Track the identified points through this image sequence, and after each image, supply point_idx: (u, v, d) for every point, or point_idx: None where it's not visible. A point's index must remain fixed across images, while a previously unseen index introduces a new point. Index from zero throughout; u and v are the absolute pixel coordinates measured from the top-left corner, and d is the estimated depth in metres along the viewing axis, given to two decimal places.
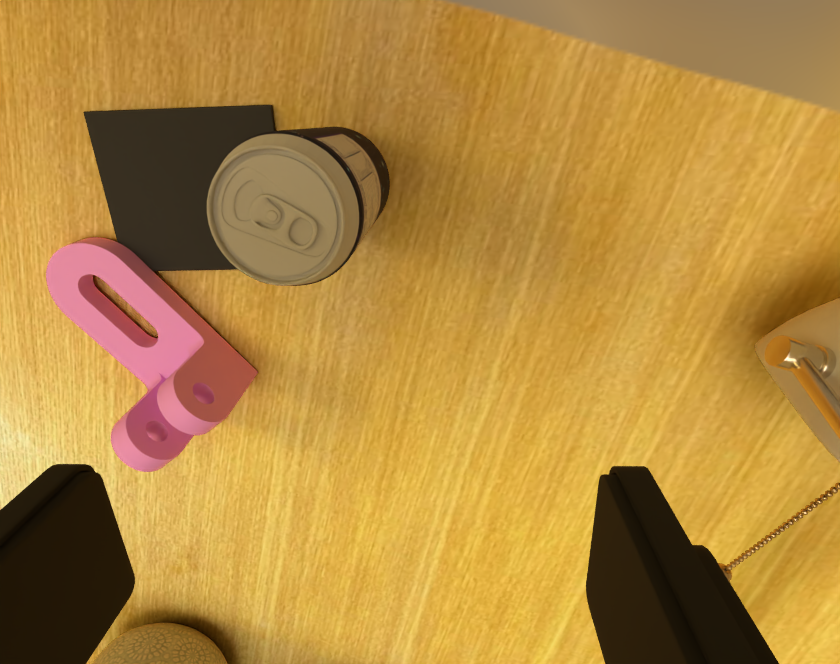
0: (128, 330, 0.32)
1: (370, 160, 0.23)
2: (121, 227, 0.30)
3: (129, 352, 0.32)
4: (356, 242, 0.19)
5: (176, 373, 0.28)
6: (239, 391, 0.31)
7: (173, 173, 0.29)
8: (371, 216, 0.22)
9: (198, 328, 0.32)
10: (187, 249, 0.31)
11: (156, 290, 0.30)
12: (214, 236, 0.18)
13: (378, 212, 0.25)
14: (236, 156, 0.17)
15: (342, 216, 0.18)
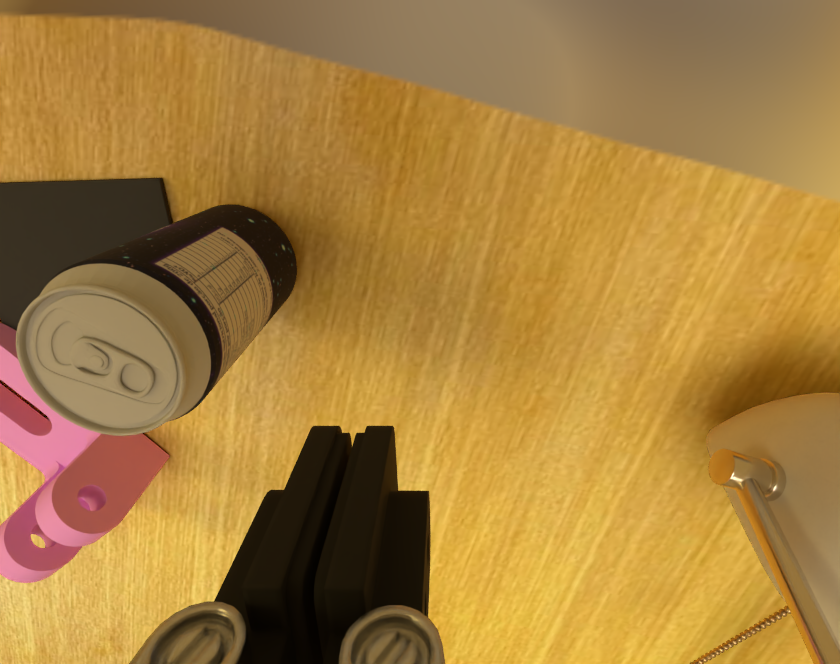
0: (20, 417, 0.29)
1: (255, 256, 0.20)
2: (4, 307, 0.27)
3: (21, 440, 0.29)
4: (211, 379, 0.16)
5: (58, 479, 0.25)
6: (141, 485, 0.28)
7: (57, 250, 0.26)
8: (247, 330, 0.19)
9: None
10: None
11: None
12: (31, 383, 0.15)
13: (272, 309, 0.22)
14: (43, 298, 0.14)
15: (179, 363, 0.15)
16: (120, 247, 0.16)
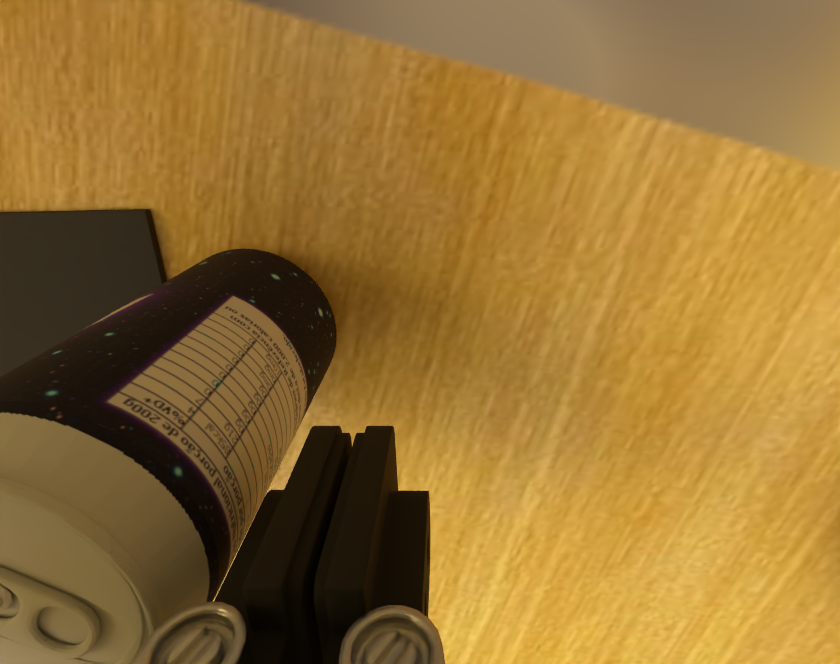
0: None
1: (284, 340, 0.13)
2: None
3: None
4: (210, 599, 0.09)
5: None
6: None
7: (5, 306, 0.19)
8: (271, 472, 0.12)
9: None
10: None
11: None
12: None
13: (305, 411, 0.15)
14: None
15: (147, 611, 0.08)
16: (52, 359, 0.09)
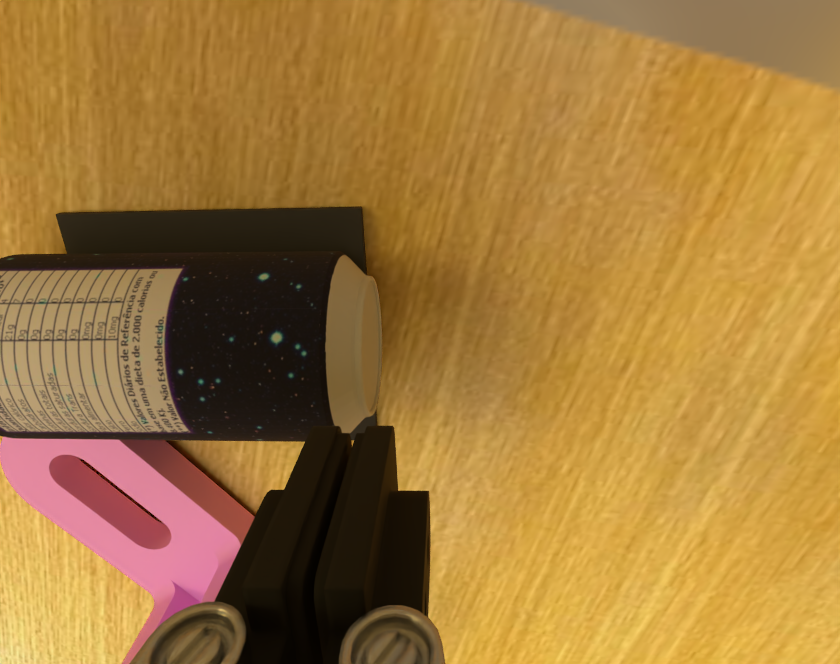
0: (127, 522, 0.21)
1: (157, 321, 0.13)
2: None
3: (127, 554, 0.21)
4: None
5: None
6: None
7: None
8: (63, 401, 0.13)
9: (232, 524, 0.21)
10: None
11: (169, 476, 0.20)
12: None
13: (186, 413, 0.13)
14: None
15: None
16: None
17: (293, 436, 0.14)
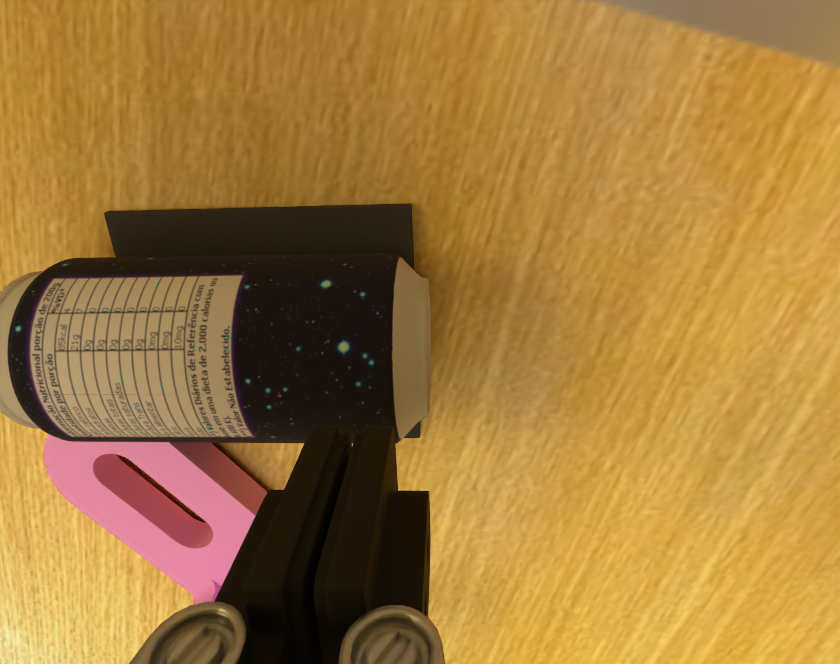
0: (168, 521, 0.21)
1: (222, 331, 0.13)
2: None
3: (168, 553, 0.21)
4: (34, 421, 0.14)
5: None
6: None
7: None
8: (130, 410, 0.14)
9: None
10: None
11: (212, 474, 0.20)
12: None
13: (252, 420, 0.14)
14: None
15: None
16: (120, 257, 0.15)
17: None
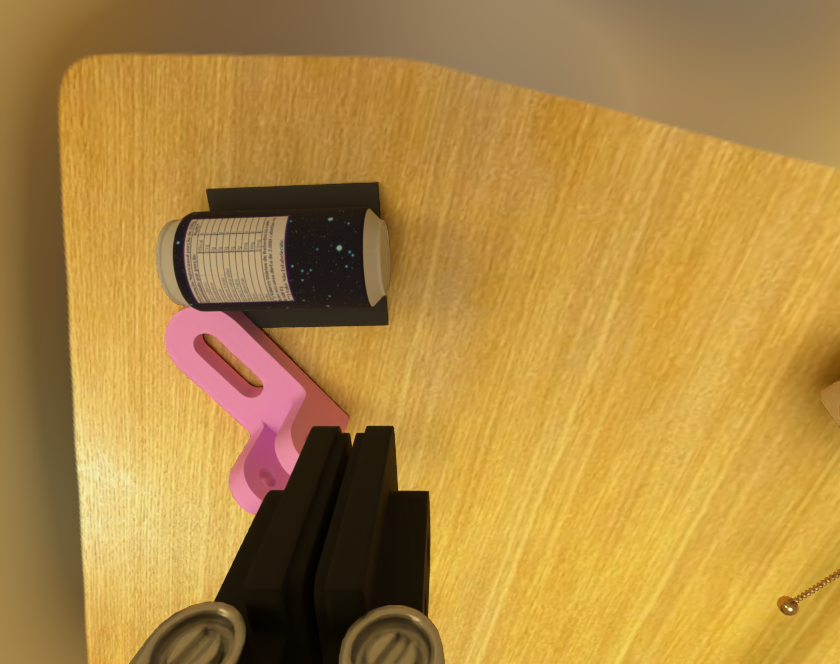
0: (235, 382, 0.35)
1: (279, 241, 0.26)
2: None
3: (235, 402, 0.35)
4: (182, 292, 0.27)
5: (291, 426, 0.31)
6: None
7: None
8: (232, 283, 0.27)
9: (299, 380, 0.34)
10: None
11: (264, 347, 0.33)
12: None
13: (293, 288, 0.27)
14: None
15: (158, 270, 0.27)
16: (221, 211, 0.29)
17: (346, 302, 0.28)
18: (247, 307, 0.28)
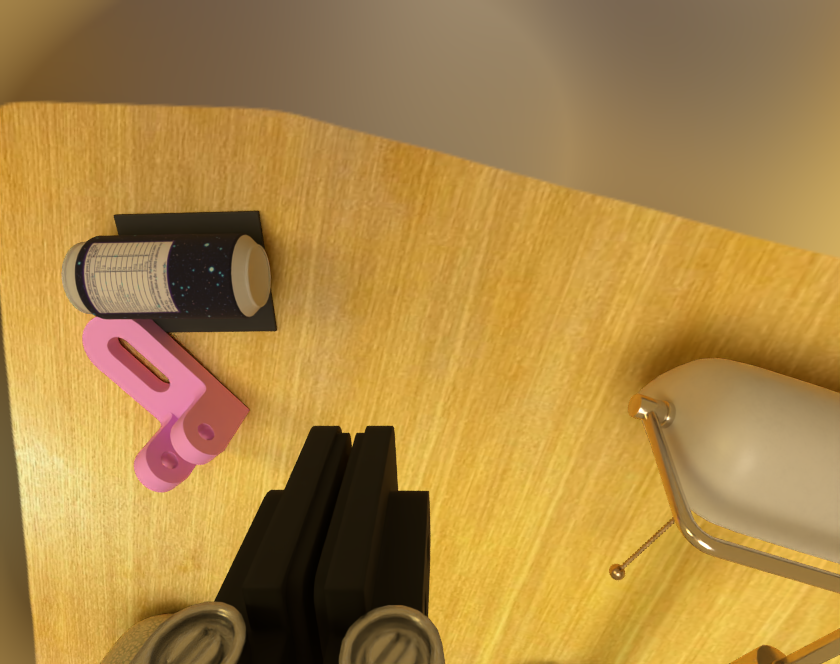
0: (146, 378, 0.40)
1: (163, 263, 0.32)
2: None
3: (147, 396, 0.40)
4: (84, 304, 0.33)
5: (185, 417, 0.36)
6: (234, 427, 0.39)
7: None
8: (125, 297, 0.32)
9: (201, 377, 0.40)
10: None
11: (168, 349, 0.39)
12: None
13: (176, 302, 0.32)
14: None
15: (64, 285, 0.33)
16: (121, 235, 0.34)
17: (222, 313, 0.33)
18: (142, 316, 0.34)
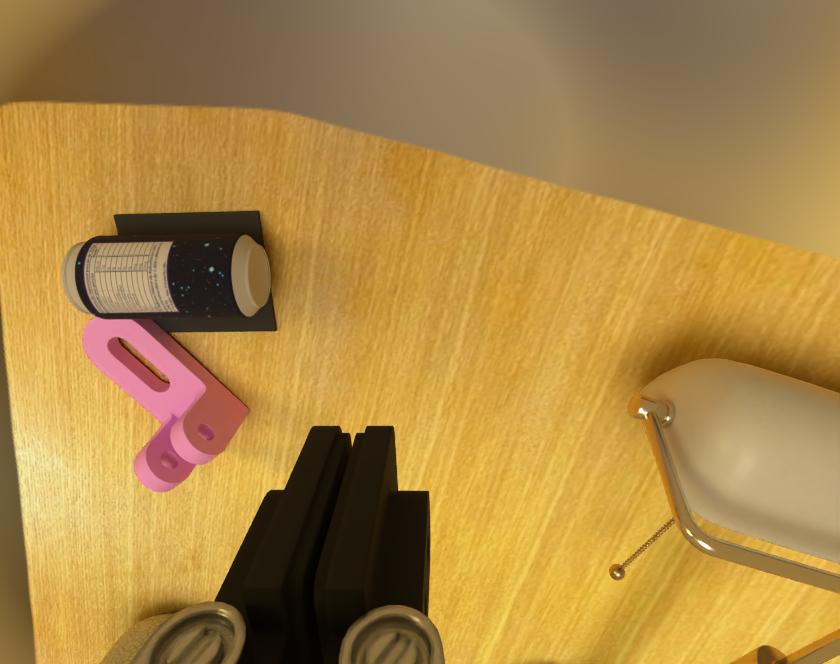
0: (146, 378, 0.40)
1: (163, 263, 0.32)
2: None
3: (146, 396, 0.40)
4: (84, 304, 0.33)
5: (185, 417, 0.36)
6: (234, 427, 0.39)
7: None
8: (125, 297, 0.32)
9: (201, 377, 0.40)
10: None
11: (168, 349, 0.39)
12: None
13: (176, 302, 0.32)
14: None
15: (64, 285, 0.33)
16: (121, 235, 0.34)
17: (222, 313, 0.33)
18: (142, 316, 0.34)
